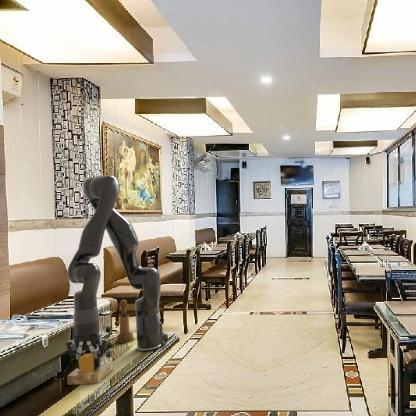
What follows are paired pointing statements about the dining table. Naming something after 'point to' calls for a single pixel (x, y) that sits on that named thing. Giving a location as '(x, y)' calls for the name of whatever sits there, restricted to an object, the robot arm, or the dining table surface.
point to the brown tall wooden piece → (124, 325)
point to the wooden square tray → (88, 375)
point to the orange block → (86, 363)
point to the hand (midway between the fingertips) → (89, 369)
